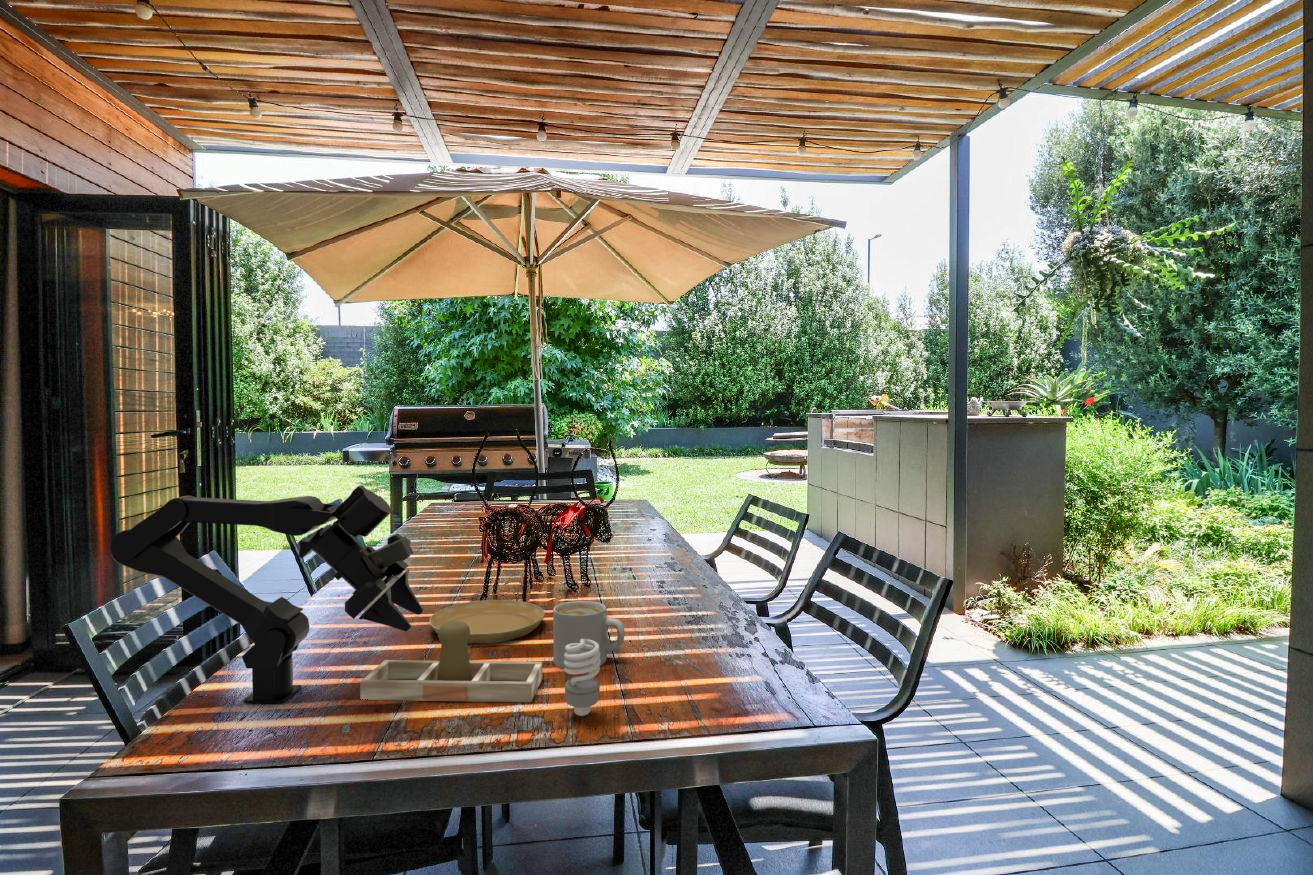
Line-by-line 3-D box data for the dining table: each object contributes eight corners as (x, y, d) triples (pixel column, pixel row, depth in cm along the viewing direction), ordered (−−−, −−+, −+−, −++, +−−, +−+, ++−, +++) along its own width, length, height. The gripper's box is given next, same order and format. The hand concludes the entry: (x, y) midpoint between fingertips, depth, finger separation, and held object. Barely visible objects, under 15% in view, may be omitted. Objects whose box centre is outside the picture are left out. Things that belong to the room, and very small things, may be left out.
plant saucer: (508, 654, 140) (507, 637, 139) (405, 641, 147) (404, 625, 147) (563, 619, 162) (563, 605, 162) (471, 609, 170) (471, 595, 170)
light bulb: (582, 705, 115) (582, 631, 115) (608, 715, 112) (608, 639, 111) (556, 717, 111) (556, 640, 110) (582, 727, 107) (582, 648, 107)
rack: (530, 703, 116) (530, 684, 116) (359, 700, 117) (359, 682, 117) (542, 678, 126) (542, 661, 126) (385, 676, 127) (384, 659, 127)
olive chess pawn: (451, 696, 118) (450, 630, 117) (428, 688, 121) (427, 623, 121) (480, 685, 123) (479, 621, 122) (457, 677, 126) (456, 615, 126)
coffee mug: (543, 665, 133) (543, 612, 132) (568, 648, 142) (568, 598, 142) (610, 675, 128) (610, 619, 128) (631, 656, 138) (631, 605, 137)
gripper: (365, 531, 110) (439, 601, 112) (395, 513, 128) (459, 573, 130) (312, 583, 109) (387, 652, 111) (350, 557, 128) (414, 617, 130)
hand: (415, 620), depth 121 cm, fingers open, 9 cm apart
